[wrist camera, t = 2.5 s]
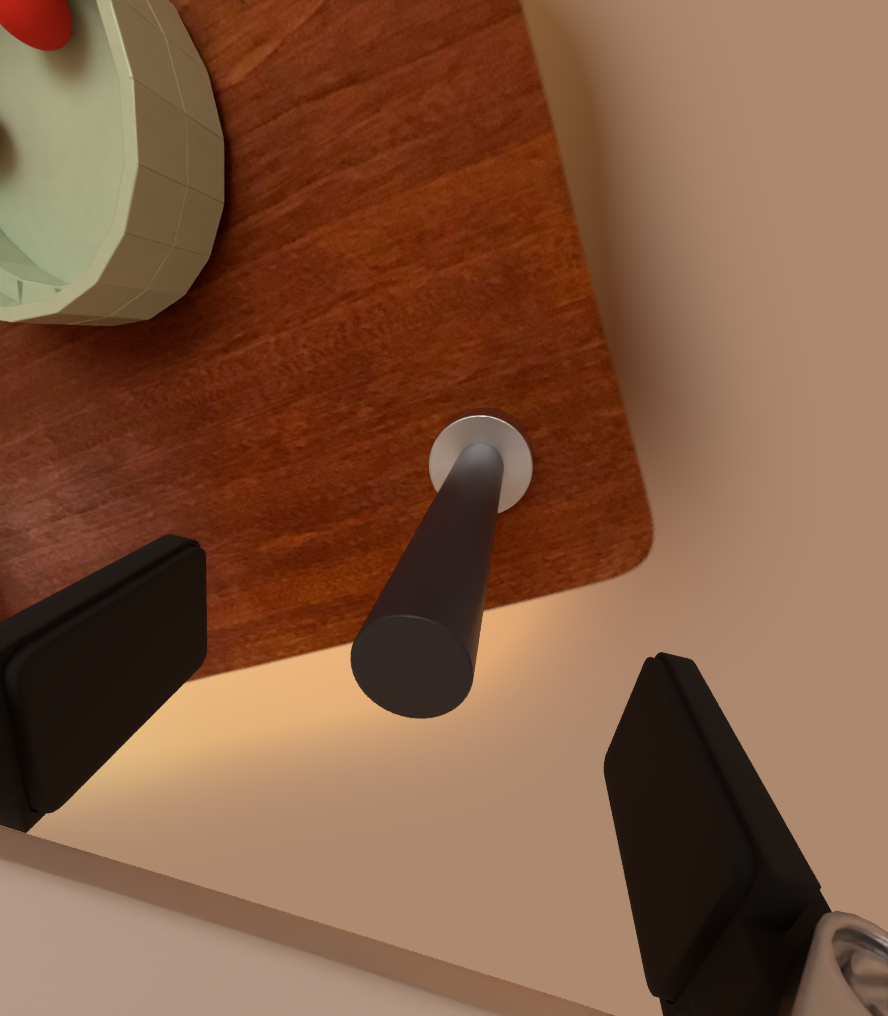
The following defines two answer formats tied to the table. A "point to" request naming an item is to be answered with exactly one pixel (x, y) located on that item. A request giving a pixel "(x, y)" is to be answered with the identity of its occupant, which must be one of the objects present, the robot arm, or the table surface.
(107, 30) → the mixing bowl
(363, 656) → the dark post
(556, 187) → the table surface
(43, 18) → the tomato
